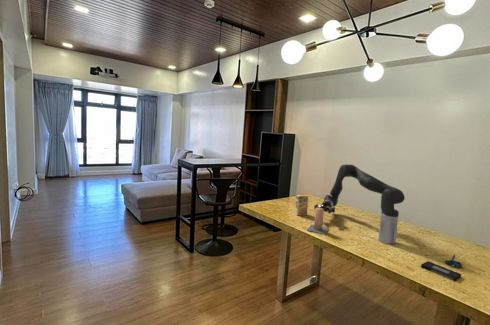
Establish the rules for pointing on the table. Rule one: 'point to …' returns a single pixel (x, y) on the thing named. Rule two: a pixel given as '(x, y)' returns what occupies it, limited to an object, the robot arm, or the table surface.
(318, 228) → the terracotta canister
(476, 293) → the table surface
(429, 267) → the vhs tape
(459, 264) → the dark blue compact piece
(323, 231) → the rubber mat
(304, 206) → the candy box
